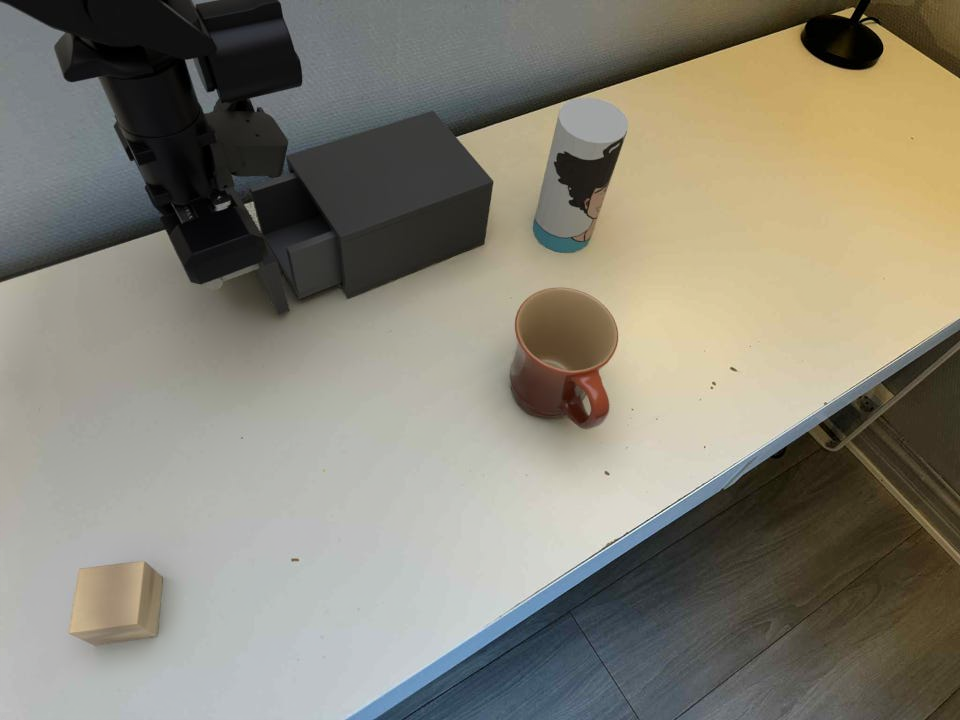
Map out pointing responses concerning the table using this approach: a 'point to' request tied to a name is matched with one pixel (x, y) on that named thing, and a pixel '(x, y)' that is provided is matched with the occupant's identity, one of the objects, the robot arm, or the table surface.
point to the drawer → (290, 242)
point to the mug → (563, 355)
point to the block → (116, 603)
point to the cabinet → (396, 198)
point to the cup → (578, 172)
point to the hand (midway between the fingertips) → (213, 255)
